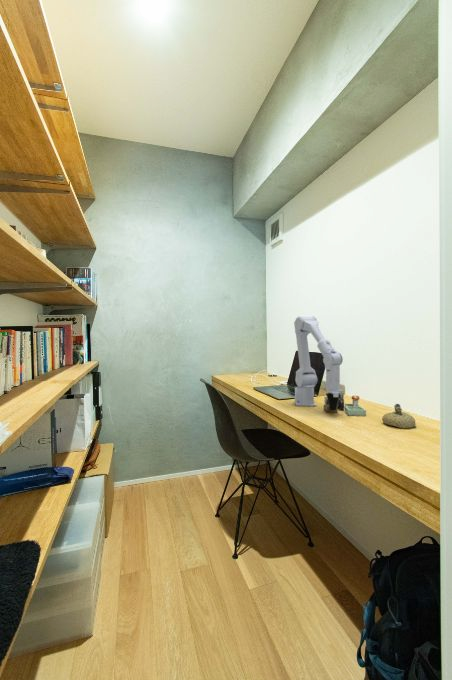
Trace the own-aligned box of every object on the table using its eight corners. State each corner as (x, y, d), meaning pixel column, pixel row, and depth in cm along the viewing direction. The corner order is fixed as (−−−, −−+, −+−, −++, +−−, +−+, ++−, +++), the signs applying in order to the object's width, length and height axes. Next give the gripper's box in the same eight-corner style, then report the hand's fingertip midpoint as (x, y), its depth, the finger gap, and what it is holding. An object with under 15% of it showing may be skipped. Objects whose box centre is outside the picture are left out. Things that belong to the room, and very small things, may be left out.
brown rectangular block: (327, 412, 138) (327, 406, 138) (323, 410, 142) (323, 404, 142) (337, 412, 139) (337, 405, 139) (334, 410, 142) (334, 404, 142)
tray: (348, 415, 134) (348, 409, 134) (344, 411, 141) (344, 405, 141) (366, 416, 132) (366, 410, 132) (361, 411, 140) (361, 406, 140)
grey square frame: (347, 410, 143) (347, 406, 143) (344, 407, 149) (344, 403, 148) (360, 410, 142) (360, 406, 142) (357, 407, 148) (357, 404, 148)
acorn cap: (419, 425, 121) (400, 404, 126) (419, 422, 112) (398, 399, 118) (397, 439, 123) (379, 418, 128) (396, 437, 114) (377, 414, 120)
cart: (327, 410, 143) (327, 395, 143) (324, 405, 152) (324, 391, 152) (345, 410, 142) (345, 395, 141) (341, 405, 151) (341, 391, 151)
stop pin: (352, 413, 135) (353, 397, 135) (350, 410, 139) (350, 395, 138) (360, 413, 135) (360, 397, 135) (357, 410, 138) (358, 395, 138)
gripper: (345, 382, 130) (346, 414, 130) (338, 377, 144) (339, 406, 144) (328, 382, 131) (328, 414, 131) (323, 377, 145) (323, 406, 145)
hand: (333, 410), depth 138 cm, fingers closed
